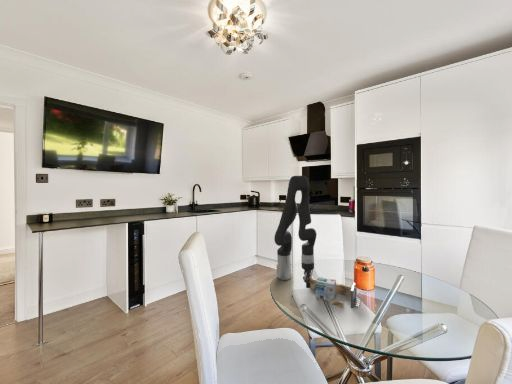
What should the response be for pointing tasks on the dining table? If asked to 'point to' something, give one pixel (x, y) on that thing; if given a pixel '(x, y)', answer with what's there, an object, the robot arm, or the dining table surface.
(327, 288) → the light bulb box
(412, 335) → the dining table surface
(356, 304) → the bookend
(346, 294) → the shelf
